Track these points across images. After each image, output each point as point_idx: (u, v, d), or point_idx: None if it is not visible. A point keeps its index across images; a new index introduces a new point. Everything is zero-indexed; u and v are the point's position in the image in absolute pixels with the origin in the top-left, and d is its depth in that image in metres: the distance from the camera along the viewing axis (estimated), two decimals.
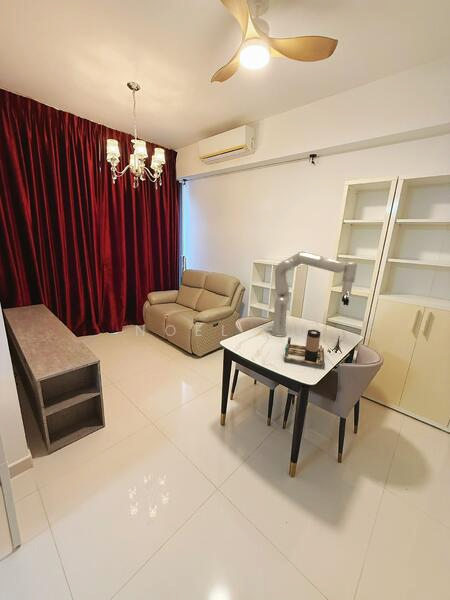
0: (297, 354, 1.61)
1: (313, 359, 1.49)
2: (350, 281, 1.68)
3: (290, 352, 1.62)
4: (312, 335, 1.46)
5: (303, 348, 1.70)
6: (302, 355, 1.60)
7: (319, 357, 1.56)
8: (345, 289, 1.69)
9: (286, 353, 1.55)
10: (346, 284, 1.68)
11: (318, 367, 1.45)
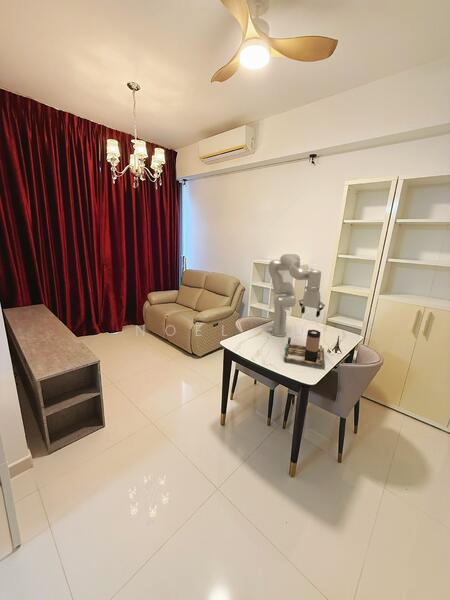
0: (297, 354, 1.61)
1: (313, 359, 1.49)
2: None
3: (290, 352, 1.62)
4: (312, 335, 1.46)
5: (303, 348, 1.70)
6: (302, 355, 1.60)
7: (319, 357, 1.56)
8: (318, 300, 1.53)
9: (286, 353, 1.55)
10: (318, 295, 1.53)
11: (318, 367, 1.45)
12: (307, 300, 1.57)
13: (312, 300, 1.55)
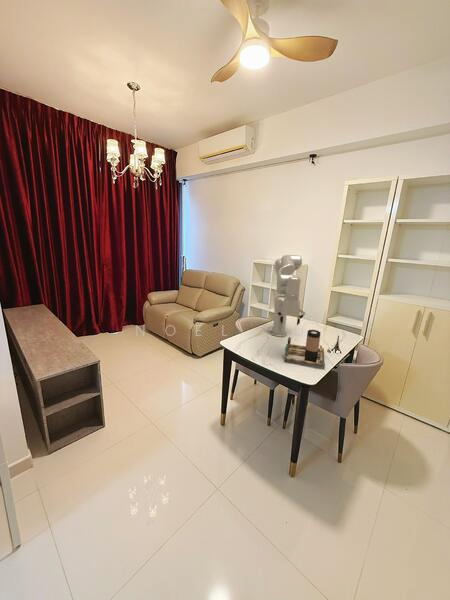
0: (297, 354, 1.61)
1: (313, 359, 1.49)
2: None
3: (290, 352, 1.62)
4: (312, 335, 1.46)
5: (303, 348, 1.70)
6: (302, 355, 1.60)
7: (319, 357, 1.56)
8: (299, 308, 1.47)
9: (286, 353, 1.55)
10: (299, 302, 1.47)
11: (318, 367, 1.45)
12: (287, 309, 1.49)
13: (293, 308, 1.47)
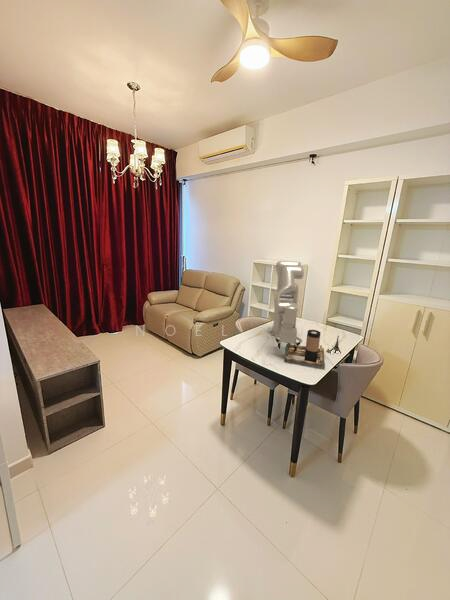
0: (297, 354, 1.61)
1: (313, 359, 1.49)
2: None
3: (290, 352, 1.62)
4: (312, 335, 1.46)
5: (303, 348, 1.70)
6: (302, 355, 1.60)
7: (319, 357, 1.56)
8: (296, 336, 1.52)
9: (286, 353, 1.55)
10: (296, 330, 1.51)
11: (318, 367, 1.45)
12: (285, 336, 1.53)
13: (290, 336, 1.52)
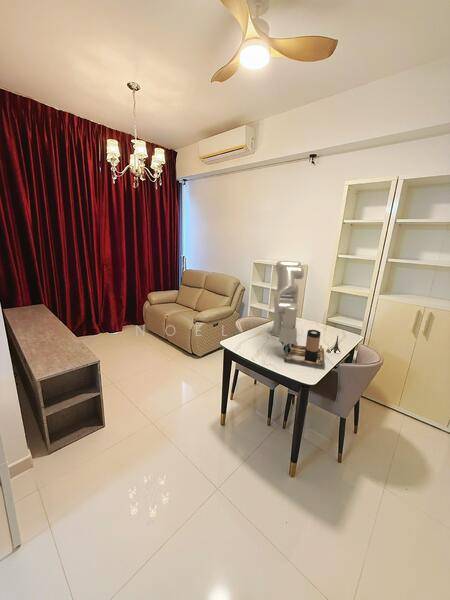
0: (297, 354, 1.61)
1: (313, 359, 1.49)
2: None
3: (290, 352, 1.62)
4: (312, 335, 1.46)
5: (303, 348, 1.70)
6: (302, 355, 1.60)
7: (319, 357, 1.56)
8: (296, 336, 1.52)
9: (286, 353, 1.55)
10: (296, 331, 1.51)
11: (318, 367, 1.45)
12: (285, 337, 1.53)
13: (290, 337, 1.52)
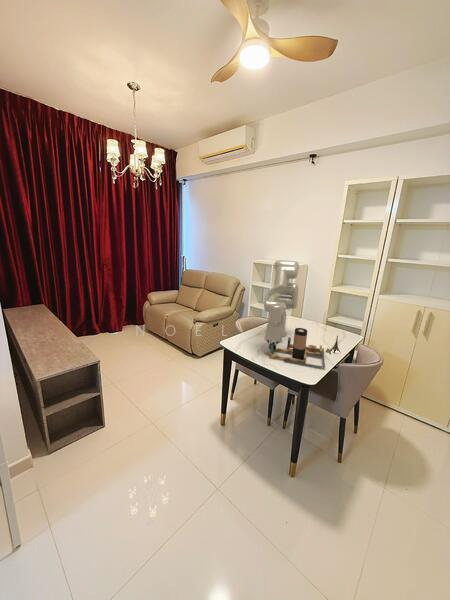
0: (283, 351, 1.64)
1: (300, 357, 1.52)
2: (280, 324, 1.56)
3: (276, 349, 1.65)
4: (299, 333, 1.49)
5: None
6: (288, 352, 1.63)
7: None
8: (281, 334, 1.55)
9: (271, 350, 1.58)
10: (281, 329, 1.54)
11: (318, 367, 1.45)
12: (270, 334, 1.56)
13: (275, 334, 1.55)
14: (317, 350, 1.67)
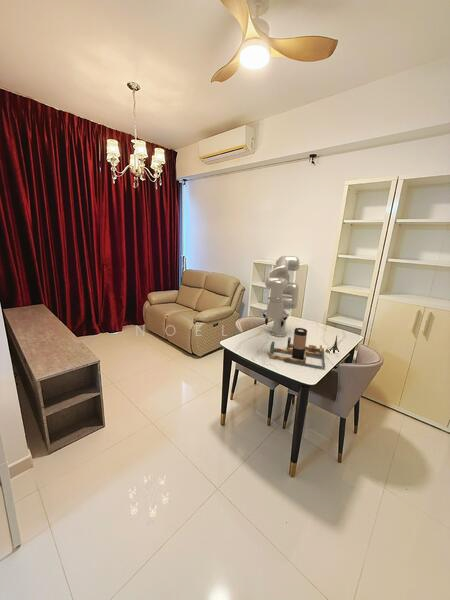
0: (282, 351, 1.64)
1: (300, 357, 1.52)
2: (282, 300, 1.53)
3: (276, 349, 1.65)
4: (299, 333, 1.49)
5: None
6: (287, 352, 1.63)
7: None
8: (282, 310, 1.51)
9: (271, 350, 1.58)
10: (282, 305, 1.51)
11: (318, 367, 1.45)
12: (271, 311, 1.53)
13: (277, 311, 1.52)
14: (317, 350, 1.67)
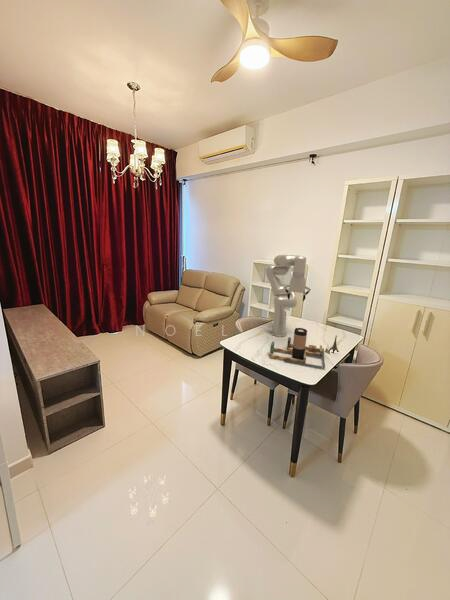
0: (282, 351, 1.64)
1: (300, 357, 1.52)
2: None
3: (276, 349, 1.65)
4: (299, 333, 1.49)
5: None
6: (287, 352, 1.63)
7: None
8: None
9: (271, 350, 1.58)
10: (305, 280, 1.61)
11: (318, 367, 1.45)
12: (294, 286, 1.63)
13: (299, 285, 1.62)
14: (317, 350, 1.67)
